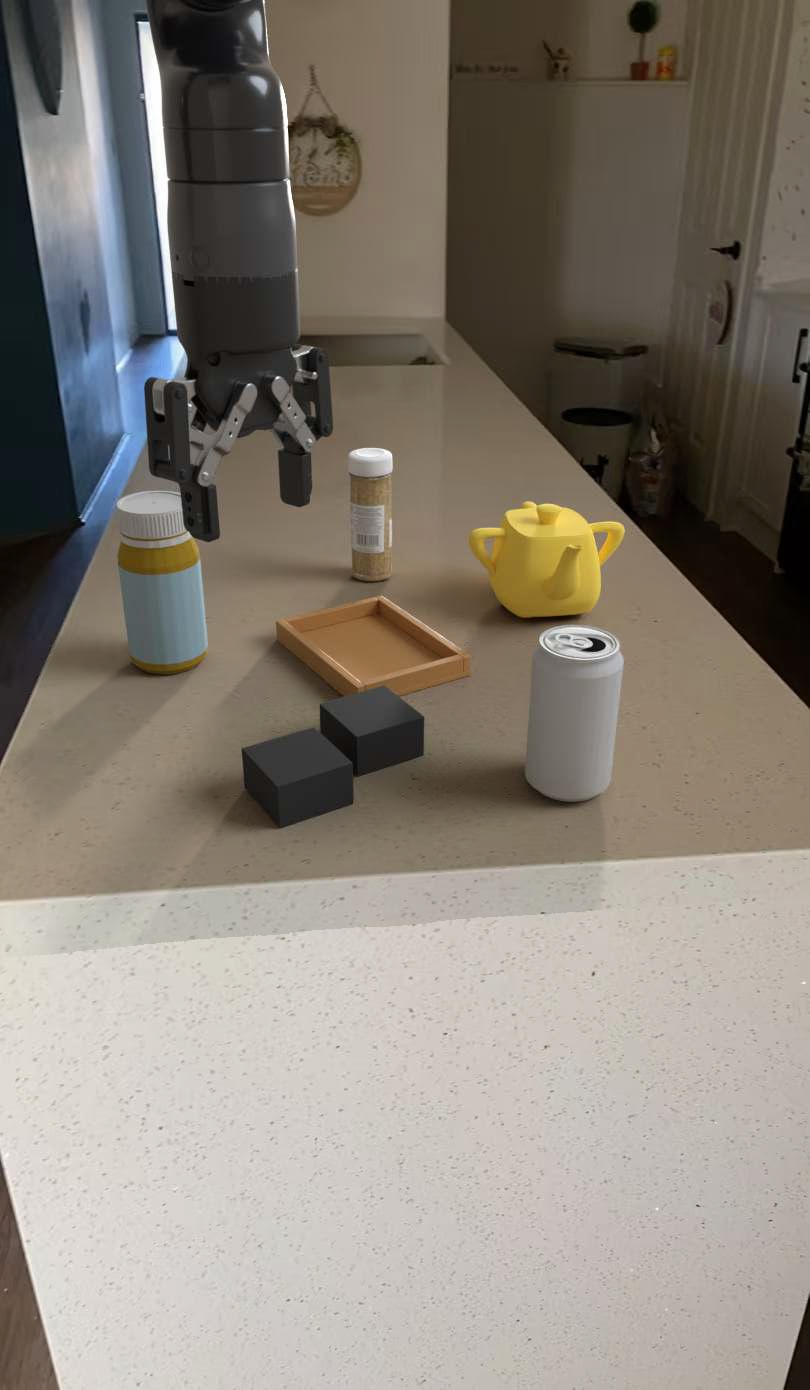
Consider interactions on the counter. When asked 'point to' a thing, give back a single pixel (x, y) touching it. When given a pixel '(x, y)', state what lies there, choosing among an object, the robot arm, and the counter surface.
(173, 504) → the bottle
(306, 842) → the counter surface
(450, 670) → the tray
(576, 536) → the teapot
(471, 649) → the counter surface
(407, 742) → the pad
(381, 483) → the sprinkles bottle
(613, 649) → the beverage can
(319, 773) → the pad
